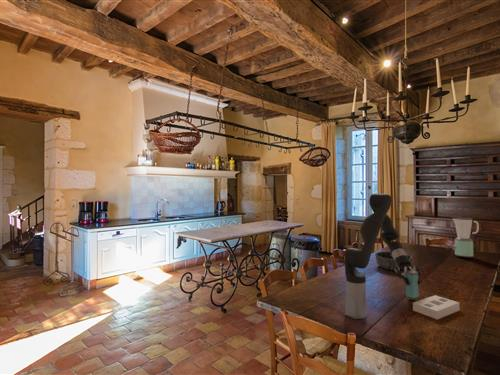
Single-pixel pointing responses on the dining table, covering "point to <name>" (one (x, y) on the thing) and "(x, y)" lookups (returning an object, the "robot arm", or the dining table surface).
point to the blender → (464, 237)
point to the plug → (412, 284)
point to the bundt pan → (387, 260)
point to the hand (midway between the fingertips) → (413, 284)
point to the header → (436, 307)
